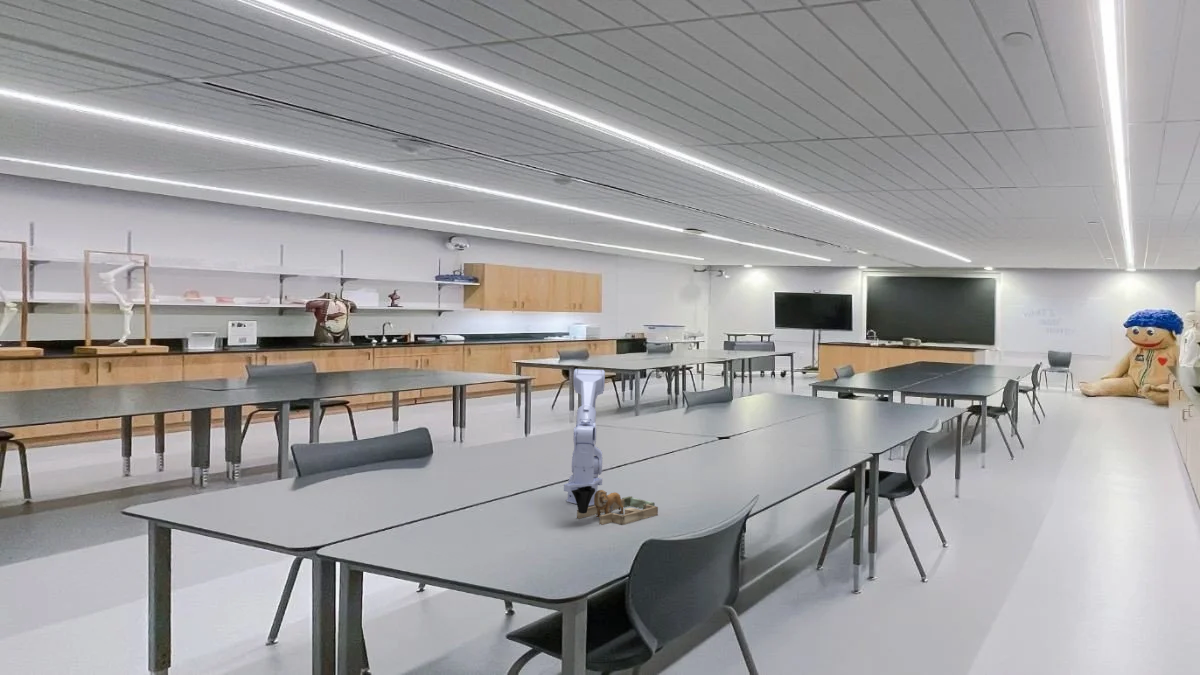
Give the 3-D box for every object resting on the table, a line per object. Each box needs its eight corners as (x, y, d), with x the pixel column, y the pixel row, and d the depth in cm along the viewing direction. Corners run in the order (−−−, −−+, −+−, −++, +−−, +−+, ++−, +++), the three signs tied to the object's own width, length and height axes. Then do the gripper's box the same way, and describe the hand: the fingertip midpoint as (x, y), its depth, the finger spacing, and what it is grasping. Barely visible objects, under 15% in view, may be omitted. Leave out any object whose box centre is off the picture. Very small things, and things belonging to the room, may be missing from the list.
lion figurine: (604, 522, 231) (605, 492, 231) (589, 520, 233) (590, 490, 233) (627, 512, 244) (627, 483, 244) (611, 509, 246) (612, 481, 246)
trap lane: (576, 518, 235) (577, 508, 235) (629, 504, 254) (630, 496, 253) (612, 527, 226) (612, 518, 225) (664, 513, 244) (664, 504, 244)
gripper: (576, 471, 221) (575, 519, 221) (610, 465, 232) (609, 511, 232) (559, 467, 225) (557, 514, 226) (592, 461, 236) (591, 506, 237)
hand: (582, 512), depth 229 cm, fingers closed
